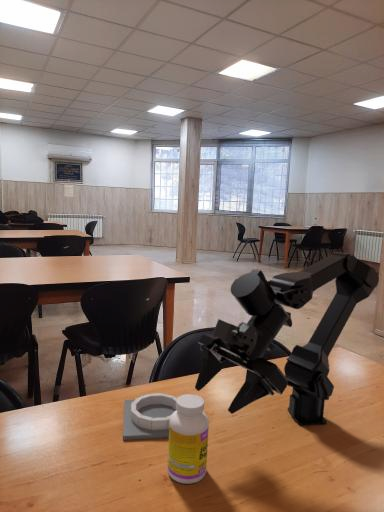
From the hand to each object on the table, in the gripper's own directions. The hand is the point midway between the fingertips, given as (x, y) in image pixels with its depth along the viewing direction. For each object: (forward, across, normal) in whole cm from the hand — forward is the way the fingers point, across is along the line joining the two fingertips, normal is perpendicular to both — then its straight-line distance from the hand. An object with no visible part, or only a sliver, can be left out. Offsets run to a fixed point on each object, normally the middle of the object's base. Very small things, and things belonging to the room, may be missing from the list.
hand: (212, 400), depth 67 cm
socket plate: (+9, -17, +8) cm, 20 cm away
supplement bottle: (+12, 0, +5) cm, 13 cm away
